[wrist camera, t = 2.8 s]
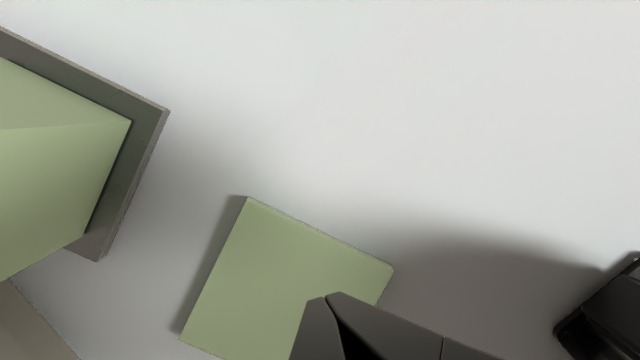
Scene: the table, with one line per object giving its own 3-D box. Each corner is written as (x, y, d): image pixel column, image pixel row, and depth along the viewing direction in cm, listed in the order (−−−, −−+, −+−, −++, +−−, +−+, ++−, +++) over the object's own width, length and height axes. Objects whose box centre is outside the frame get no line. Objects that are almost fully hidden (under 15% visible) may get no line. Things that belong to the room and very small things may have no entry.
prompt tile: (391, 265, 21) (394, 271, 20) (320, 391, 22) (320, 402, 21) (248, 196, 20) (246, 200, 20) (183, 331, 21) (177, 339, 21)
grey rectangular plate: (170, 110, 20) (162, 110, 19) (106, 255, 21) (96, 262, 20) (-36, 8, 19) (-55, 3, 18) (-91, 165, 20) (-112, 168, 19)
